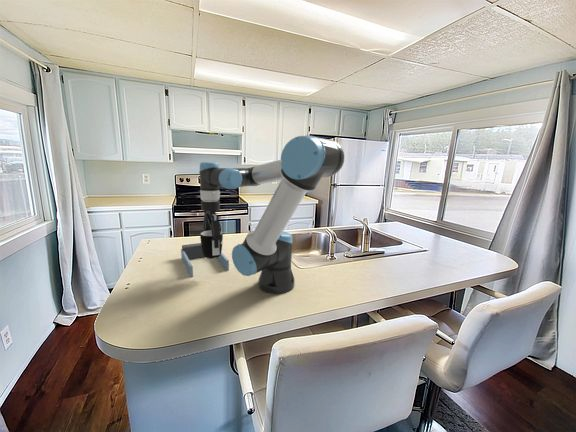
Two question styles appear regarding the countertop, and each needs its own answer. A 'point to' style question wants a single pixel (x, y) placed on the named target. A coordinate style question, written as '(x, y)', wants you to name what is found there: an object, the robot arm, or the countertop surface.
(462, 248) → the countertop surface
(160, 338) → the countertop surface
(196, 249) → the trap block
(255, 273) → the robot arm
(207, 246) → the mug
